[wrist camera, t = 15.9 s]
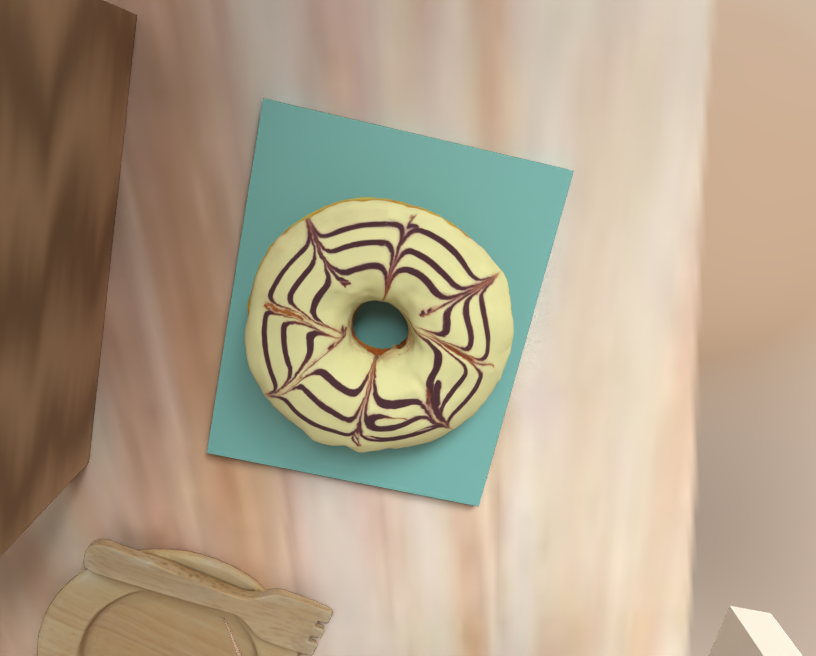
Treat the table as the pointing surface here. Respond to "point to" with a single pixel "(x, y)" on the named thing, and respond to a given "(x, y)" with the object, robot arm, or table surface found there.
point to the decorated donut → (362, 364)
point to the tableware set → (174, 609)
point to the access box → (55, 236)
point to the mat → (377, 321)
